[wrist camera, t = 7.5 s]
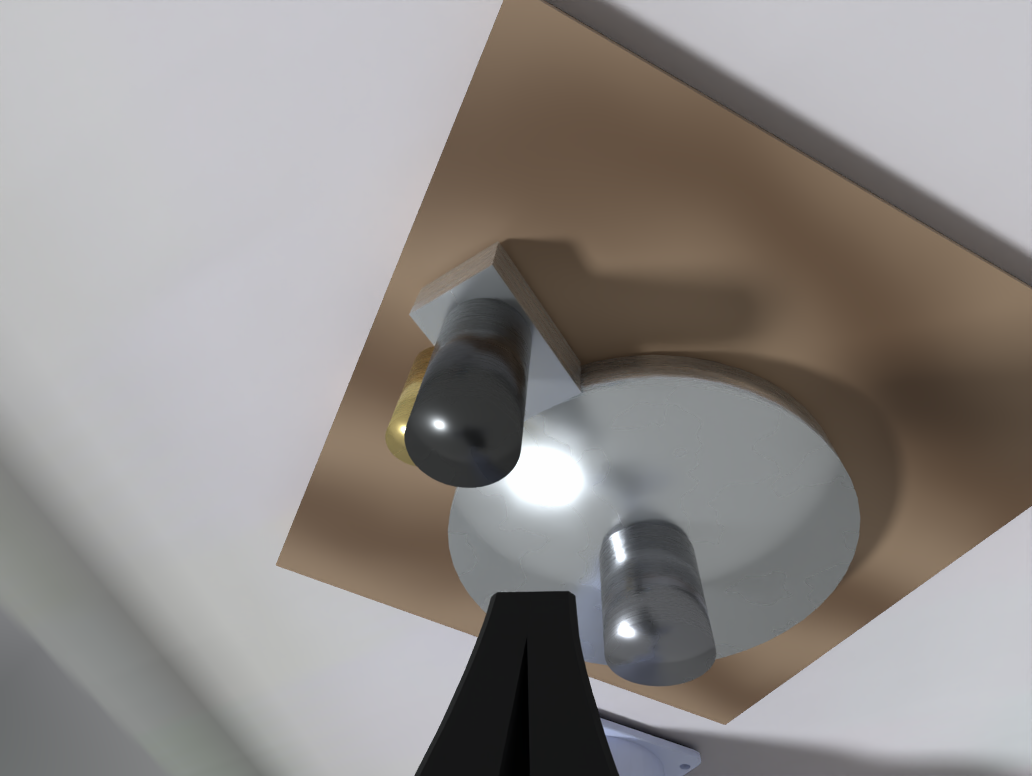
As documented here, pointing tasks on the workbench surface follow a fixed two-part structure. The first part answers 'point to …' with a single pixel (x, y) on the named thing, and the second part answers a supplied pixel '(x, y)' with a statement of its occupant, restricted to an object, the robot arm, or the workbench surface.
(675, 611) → the post
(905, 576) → the base board
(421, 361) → the dowel
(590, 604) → the crank
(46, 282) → the workbench surface
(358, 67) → the workbench surface
